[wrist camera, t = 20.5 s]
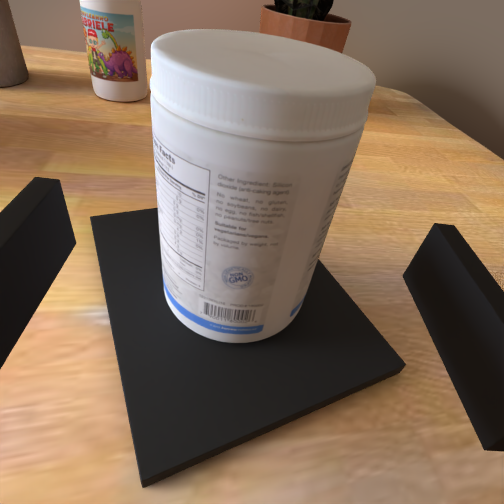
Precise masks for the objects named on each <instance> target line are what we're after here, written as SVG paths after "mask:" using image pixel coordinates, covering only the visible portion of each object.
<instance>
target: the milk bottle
mask: <svg viewBox="0 0 504 504" xmlns="http://www.w3.org/2000/svg"><path fill="white" fill-rule="evenodd" d="M80 7H81V15H82V22H83V28H84V35H85V41H86V47H87V54H88V60H89V66H90V73H91V79H92V84H93V90H94V92H95V93H96V95H97V96H99V97H101V98H103V99H107V100H112V101H121V102H129V101H137V100H141V99H143V98H145V97H146V95H147V74H146V58H145V43H144V29H143V17H142V8H141V1H140V0H80Z"/></svg>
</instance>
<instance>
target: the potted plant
mask: <svg viewBox="0 0 504 504" xmlns="http://www.w3.org/2000/svg"><path fill="white" fill-rule="evenodd" d="M274 1H275V5H263V6H262V9H261V22H260V32H259V33H262V34H268V35H274V36H280V37H285V38H289V39H294V40H298V41H302V42H307V43H311V44H314V45H318V46H321V47H325V48H328V49H331V50H334V51H337V52H339V53H342V51H343V48H344V45H345V42H346V39H347V36H348V33H349V30H350V27H351V21H350V20H348V19H345V18H342V17H339V16H336V15H332V14H328V12H329V11H330V9H331V7H332V4H333V0H274Z"/></svg>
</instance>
